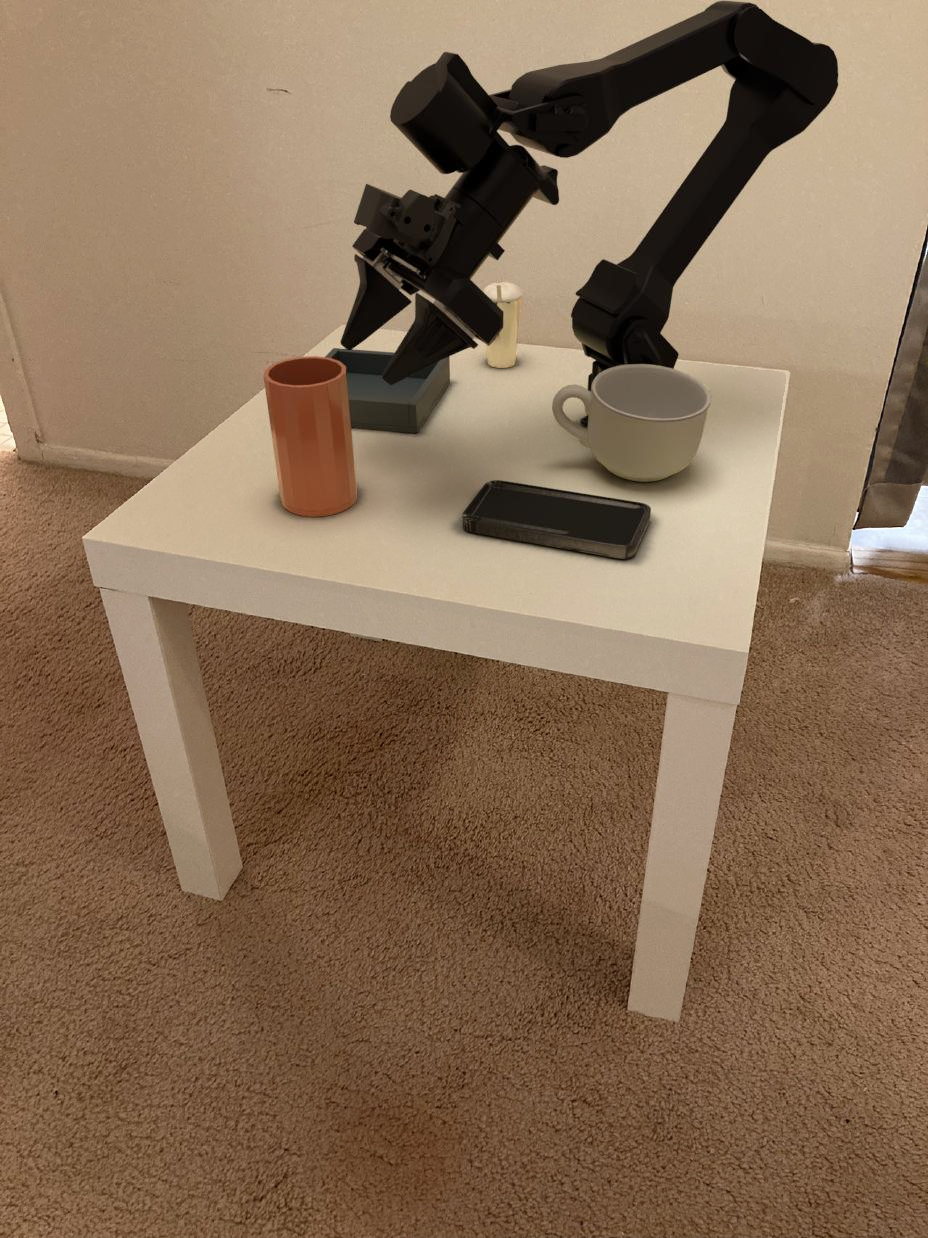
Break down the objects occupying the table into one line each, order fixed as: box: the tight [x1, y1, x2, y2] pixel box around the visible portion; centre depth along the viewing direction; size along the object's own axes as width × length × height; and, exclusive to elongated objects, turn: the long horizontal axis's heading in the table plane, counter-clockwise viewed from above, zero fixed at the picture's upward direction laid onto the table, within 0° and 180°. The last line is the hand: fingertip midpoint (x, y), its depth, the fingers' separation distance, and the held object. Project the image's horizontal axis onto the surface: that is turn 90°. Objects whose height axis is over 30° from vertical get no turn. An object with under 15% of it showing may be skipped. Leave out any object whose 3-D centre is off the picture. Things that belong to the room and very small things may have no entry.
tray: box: [324, 347, 451, 434], centre depth 106 cm, size 14×14×3 cm
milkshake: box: [482, 281, 523, 369], centre depth 112 cm, size 4×5×10 cm
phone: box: [462, 479, 652, 559], centre depth 84 cm, size 8×1×15 cm
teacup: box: [551, 364, 712, 483], centre depth 91 cm, size 14×11×8 cm
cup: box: [263, 355, 358, 518], centre depth 86 cm, size 7×7×12 cm
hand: (364, 363), depth 85 cm, fingers open, 9 cm apart
